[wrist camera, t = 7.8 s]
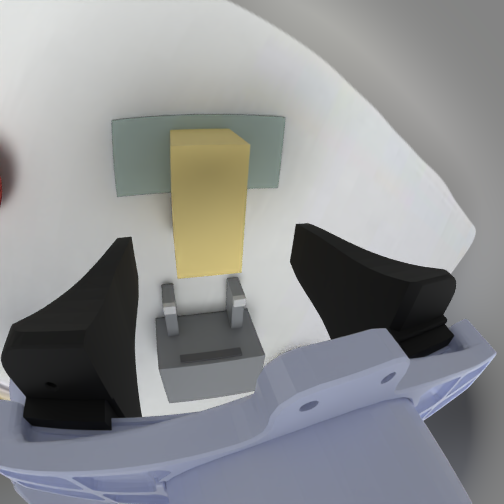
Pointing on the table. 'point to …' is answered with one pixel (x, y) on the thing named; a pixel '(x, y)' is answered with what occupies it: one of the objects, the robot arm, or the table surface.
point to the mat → (158, 148)
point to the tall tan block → (208, 200)
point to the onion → (0, 190)
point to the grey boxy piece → (208, 349)
